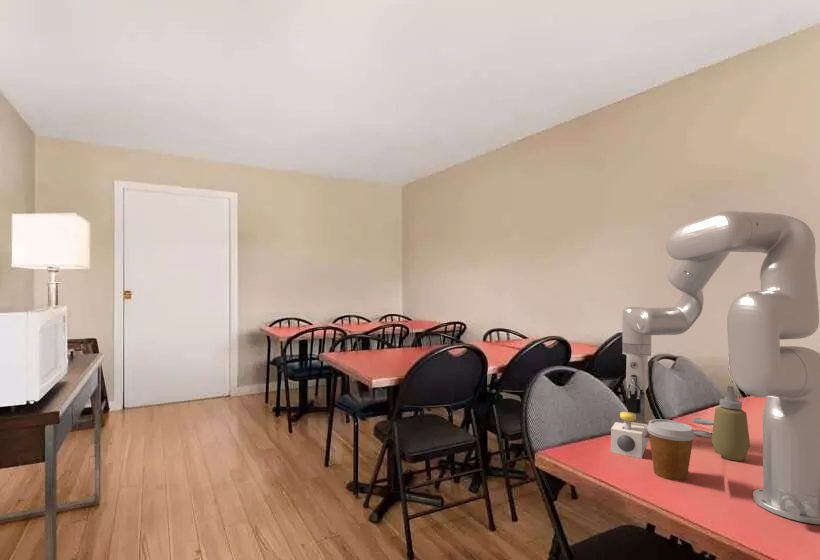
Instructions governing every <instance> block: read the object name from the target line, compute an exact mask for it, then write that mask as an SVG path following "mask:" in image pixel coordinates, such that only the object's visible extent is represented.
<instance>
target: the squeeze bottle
mask: <svg viewBox="0 0 820 560" xmlns="http://www.w3.org/2000/svg"><path fill="white" fill-rule="evenodd" d="M736 395H737V394H736V392H735V388H734V386H732V385H728V386H727V388H726V391H725V396H724V398H720V399H719V406H717V407H716V408H715V410H714V417H713V421H714V423H713V425H712V432H711V433H712V438H710V439H711V442H712V443H711V444H712V445H713V448H714V451H715V453H716V454H718V455H720V456H721V458H723V459H726V460H732V461H739V462H740V461H744V460H745V459H746V457H747V454H748V452H749V450H750V447H751V442H750V433H749V426H748V416H747V412H746V411H744V410H743V409H742V408H743V404H742V401H740V400H737V396H736Z"/></svg>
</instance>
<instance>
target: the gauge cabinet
mask: <svg viewBox="0 0 820 560" xmlns="http://www.w3.org/2000/svg"><path fill="white" fill-rule="evenodd" d="M645 450H646V448H645V427H643V426H637V425H631V430H627V429H624V422H617V421H615V422H614V424H613V425H612V426H611V428H610V453H611V452H612V454H616V453H617V454H616V455H621V454H622V456H626V455H627V456H626V457H631V456H632V457H631V458H636V457H637V459H641V458H642V459H643V456H644V454H643V453H645Z"/></svg>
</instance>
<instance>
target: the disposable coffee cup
mask: <svg viewBox="0 0 820 560" xmlns="http://www.w3.org/2000/svg"><path fill="white" fill-rule="evenodd" d="M648 421H649V424H648V426H647V430H648V432H649V442H650V443H649V445H650V450H651V451H650V452H651V459H652V466H653V473H654V474H655V475H656V476H658V477H660V478H661V479H665V480H669V481H673V482H684V481H686V480H687V479H688V475H689V467H690V461H691V454H692V448H693V441H694V439H695V437H696V435H695V433H694V428H693V427H692V425H689V424H688V423H684V422H682V421H681V422H680V421H677V420H671V419H651V420H648Z"/></svg>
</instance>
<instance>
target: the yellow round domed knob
mask: <svg viewBox="0 0 820 560" xmlns="http://www.w3.org/2000/svg"><path fill="white" fill-rule="evenodd" d="M619 413H620V414H619V418H620V419H621V420H623V423H624V429H627V430H631V421H634V420H636V414H634V413H630V412H628V411H621V412H619Z"/></svg>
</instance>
